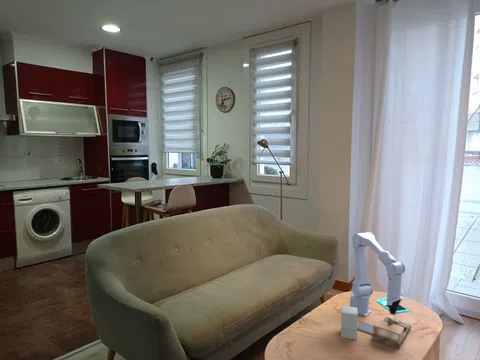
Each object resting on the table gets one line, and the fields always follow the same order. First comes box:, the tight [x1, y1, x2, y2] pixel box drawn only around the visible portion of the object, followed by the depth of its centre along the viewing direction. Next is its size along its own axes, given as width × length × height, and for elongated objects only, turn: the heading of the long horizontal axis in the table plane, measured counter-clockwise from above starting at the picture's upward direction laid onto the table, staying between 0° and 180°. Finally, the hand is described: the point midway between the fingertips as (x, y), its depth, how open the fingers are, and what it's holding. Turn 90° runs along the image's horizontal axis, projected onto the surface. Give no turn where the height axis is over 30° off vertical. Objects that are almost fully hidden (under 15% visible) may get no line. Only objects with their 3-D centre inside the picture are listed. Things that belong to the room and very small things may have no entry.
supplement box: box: [340, 305, 359, 341], centre depth 162 cm, size 7×7×13 cm
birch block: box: [390, 315, 401, 326], centre depth 167 cm, size 4×4×6 cm
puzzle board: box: [371, 316, 412, 350], centre depth 164 cm, size 12×22×2 cm, turn 141°
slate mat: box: [357, 321, 373, 336], centre depth 169 cm, size 8×8×1 cm
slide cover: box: [372, 317, 405, 344], centre depth 158 cm, size 12×7×7 cm, turn 51°
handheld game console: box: [376, 297, 409, 314], centre depth 192 cm, size 10×16×1 cm, turn 15°
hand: (392, 313), depth 162 cm, fingers closed
